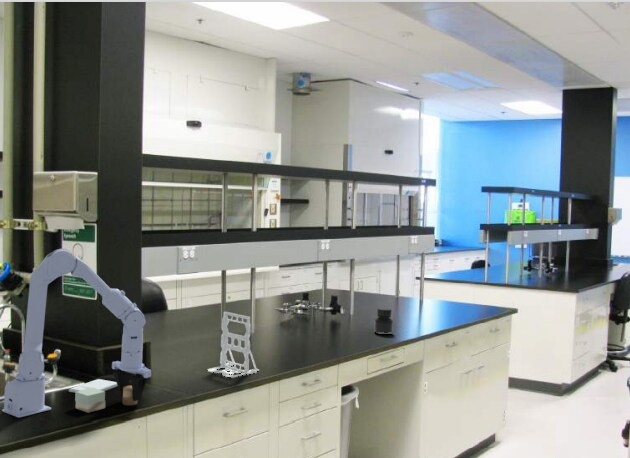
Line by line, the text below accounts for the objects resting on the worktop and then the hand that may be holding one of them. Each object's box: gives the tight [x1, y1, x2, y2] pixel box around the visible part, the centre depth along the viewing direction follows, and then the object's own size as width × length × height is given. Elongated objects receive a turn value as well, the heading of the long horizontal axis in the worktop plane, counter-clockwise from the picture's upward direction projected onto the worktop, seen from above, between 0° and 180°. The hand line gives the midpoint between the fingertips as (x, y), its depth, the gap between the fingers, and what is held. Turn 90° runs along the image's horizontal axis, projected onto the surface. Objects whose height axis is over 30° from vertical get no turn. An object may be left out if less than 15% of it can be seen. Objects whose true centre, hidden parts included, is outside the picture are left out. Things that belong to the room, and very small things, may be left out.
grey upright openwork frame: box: [207, 311, 260, 379], centre depth 220 cm, size 14×14×20 cm
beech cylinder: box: [122, 385, 138, 406], centre depth 180 cm, size 4×4×4 cm
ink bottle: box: [373, 307, 394, 333], centre depth 304 cm, size 10×9×12 cm
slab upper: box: [74, 388, 106, 405], centre depth 174 cm, size 6×6×2 cm
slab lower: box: [75, 400, 106, 414], centre depth 174 cm, size 6×6×2 cm
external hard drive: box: [68, 378, 118, 393], centre depth 192 cm, size 2×8×12 cm
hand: (130, 398), depth 180 cm, fingers open, 5 cm apart
